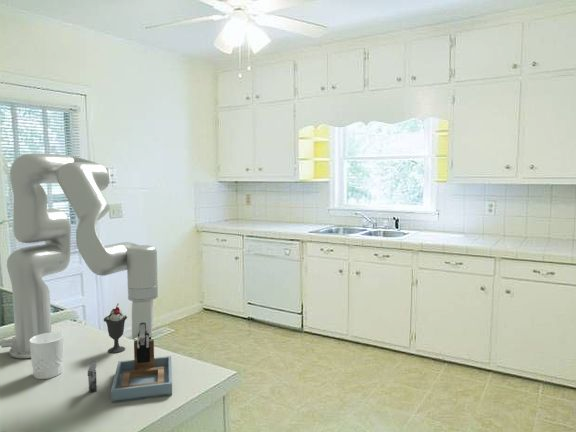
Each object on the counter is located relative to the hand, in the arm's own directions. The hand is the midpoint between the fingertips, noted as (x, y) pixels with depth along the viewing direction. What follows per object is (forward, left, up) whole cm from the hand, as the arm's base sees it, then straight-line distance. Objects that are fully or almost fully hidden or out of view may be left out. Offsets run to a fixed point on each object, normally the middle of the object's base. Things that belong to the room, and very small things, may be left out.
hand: (144, 354), depth 116 cm
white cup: (-25, +7, -5) cm, 26 cm away
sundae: (-9, +19, -5) cm, 21 cm away
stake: (-12, -6, -5) cm, 15 cm away
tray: (0, -5, -5) cm, 8 cm away
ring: (0, -5, -5) cm, 7 cm away
